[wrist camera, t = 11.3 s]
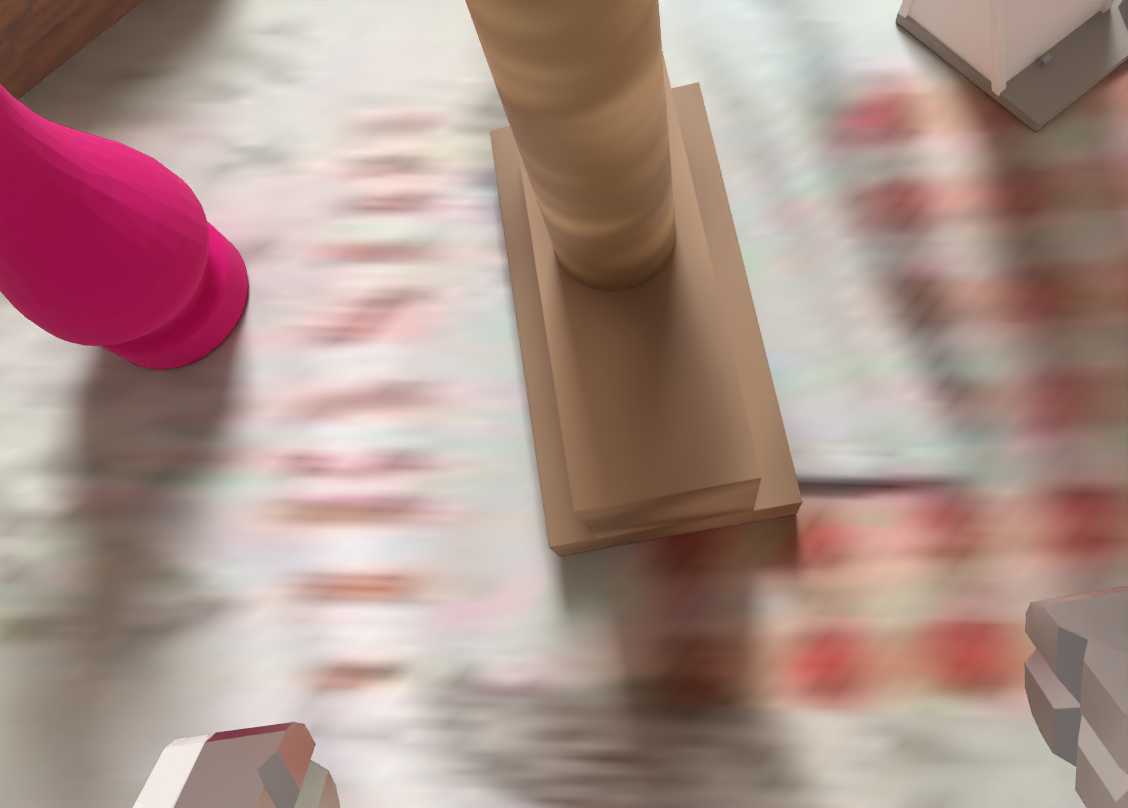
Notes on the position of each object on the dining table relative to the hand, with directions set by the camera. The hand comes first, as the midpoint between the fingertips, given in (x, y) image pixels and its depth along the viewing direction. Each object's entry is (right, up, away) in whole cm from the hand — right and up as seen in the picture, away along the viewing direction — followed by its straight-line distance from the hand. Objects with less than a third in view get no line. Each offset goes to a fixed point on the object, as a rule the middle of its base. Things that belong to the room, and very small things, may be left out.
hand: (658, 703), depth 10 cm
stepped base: (+1, +6, +22) cm, 23 cm away
